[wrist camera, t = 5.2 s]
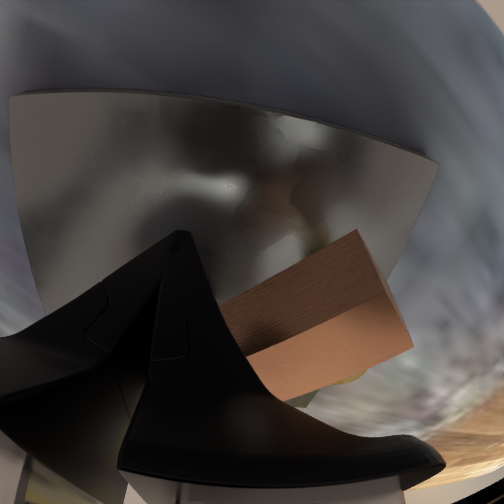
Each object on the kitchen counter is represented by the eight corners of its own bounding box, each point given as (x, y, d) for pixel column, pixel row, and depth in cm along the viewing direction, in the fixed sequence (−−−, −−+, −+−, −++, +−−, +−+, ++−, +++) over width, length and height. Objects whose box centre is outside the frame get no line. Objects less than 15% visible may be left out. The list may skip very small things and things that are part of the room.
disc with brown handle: (174, 416, 14) (166, 457, 12) (53, 333, 11) (30, 377, 9) (409, 327, 10) (431, 383, 8) (304, 147, 7) (323, 188, 5)
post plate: (304, 394, 21) (310, 473, 16) (69, 348, 20) (38, 419, 14) (426, 155, 11) (523, 234, 6) (25, 91, 10) (-84, 135, 4)
